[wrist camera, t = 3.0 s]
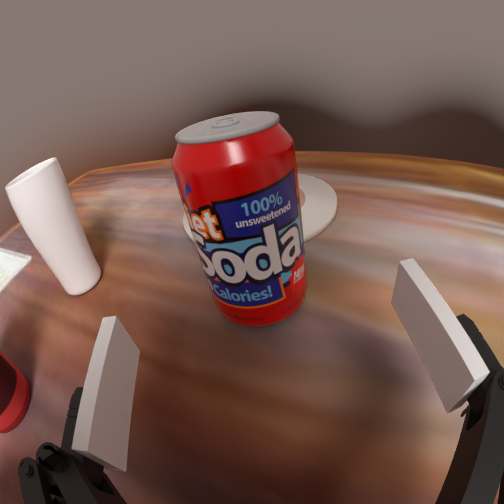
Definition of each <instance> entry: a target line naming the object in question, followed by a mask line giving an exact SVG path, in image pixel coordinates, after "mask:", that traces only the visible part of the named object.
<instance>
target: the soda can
mask: <svg viewBox="0 0 504 504" xmlns="http://www.w3.org/2000/svg"><path fill="white" fill-rule="evenodd" d="M278 121H279V116H278V115H277V114H276V113H273V112H262V111H260V112H245V113H237V114H231V115H225V116H220V117H216V118H213V119H209V120H206V121H202V122H199V123H196V124H194V125H191V126H189V127H187V128H185V129H183V130H181V131H179V132H178V133H177V134H176V136H175V138H176V141H177V142H178V144H177V148H176V151H175V154H174V157H173V159H172V169H173V173H174V177H175V180H176V184H177V187H178V190H179V194H180V197H181V200H182V204H183V207H184V210H185V213H186V216H187V220H188V223H189V226H190V229H191V232H192V235H193V238H194V242H195V245H196V248H197V251H198V254H199V257H200V260H201V263H202V266H203V269H204V272H205V275H206V278H207V281H208V283H209V286H210V289H211V292H212V295H213V298H214V300H215V303H216V305H217V307H218V309H219V311H220V312H221V314H222V315H223V316H224V317H226V318H227V319H229V320H230V321H232V322H234V323H237V324H240V325H244V326H253V327H257V326H266V325H271V324H274V323H277V322H280V321H282V320H284V319H286V318H287V317H289V316H290V315H292V314H293V313H294V312H295V311H296V310H297V309H298V308H299V307H300V306H301V304H302V303H303V301H304V299H305V296H306V291H307V278H306V263H305V249H304V237H303V225H302V214H301V203H300V193H299V184H298V174H297V165H296V157H295V149H294V142H293V139H292V137H291V136H290V135H289V134H288V133H287V132H286V131H285V129H284V128H283V127H282V126H281V125H280V124H279V122H278Z"/></svg>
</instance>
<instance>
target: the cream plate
mask: <svg viewBox="0 0 504 504" xmlns="http://www.w3.org/2000/svg"><path fill="white" fill-rule="evenodd" d="M297 174H298V184H299V193H300V203H301V214H302V225H303V237H304V242H306V241H308V240H310V239H312V238H314V237H315V236H317V235H318V234H320V233H321V232H323V231H324V230H325V229H326V228H327V227H328V226H329V225H330V224H331V223H332V221H333V220H334V218H335V216H336V213H337V196H336V193H335V191H334V190H333V188H332V187H331V186H330V185H328V184H327V183H326V182H324V181H322V180H320V179H318V178H316V177H313V176H309V175H305V174H301V173H297ZM183 225H184V228H185V232H186V234H187V236H188V238H189V239H190V240H191V241H192V242H193V243H194V244H195V242H194V238H193V235H192V232H191V229H190V226H189V223H188V220H187V216H186V213H184V216H183Z"/></svg>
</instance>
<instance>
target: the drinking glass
mask: <svg viewBox="0 0 504 504" xmlns="http://www.w3.org/2000/svg"><path fill="white" fill-rule="evenodd" d="M5 189H6V192H7V194H8V197H9V200H10V202H11V205H12V207H13V209H14V211H15V213H16V215H17V217H18V219H19V221H20V223H21V225H22V227H23V228H24V230H25V232H26V233H27V235H28V236H29V238H30V239H31V241H32V242H33V244H34V246H35V247H36V249H37V250H38V252H39V253H40V254H41V256H42V257H43V259H44V260H45V262H46V263H47V265H48V266H49V267H50V269H51V270H52V272H53V273H54V275H55V276H56V277H57V279H58V280H59V282H60V283H61V285H62V286H63V288H64V289H65V291H66V292H67V293H68V294H70V295H81V294H84V293H86V292H87V291H89V290H90V289H92V288H93V287H94V286H95V285H96V284H97V282H98V281H99V279H100V276H101V269H100V267H99V265H98V263H97V261H96V259H95V257H94V255H93V253H92V250H91V248H90V245H89V243H88V240H87V238H86V235H85V232H84V230H83V227H82V224H81V222H80V219H79V216H78V213H77V210H76V207H75V204H74V201H73V198H72V195H71V192H70V190H69V187H68V184H67V182H66V179H65V177H64V174H63V172H62V169H61V167H60V165H59V163H58V160H57V158H55V157H54V158H50V159H48V160H46V161H44V162H41V163H39V164H37V165H35V166H34V167H32V168H30V169H28V170H27V171H25V172H24V173H22V174H20V175H19V176H18V177H16V178H15V179H13V180H12V181H11V182H10V183H9V184H8V185H7V186H6V187H5Z"/></svg>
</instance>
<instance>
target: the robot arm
mask: <svg viewBox="0 0 504 504" xmlns="http://www.w3.org/2000/svg"><path fill="white" fill-rule="evenodd" d="M391 304H392V306H393V307H394V309H395V311H396V313H397V314H398V316H399V318H400V320H401V322H402V323H403V325H404V327H405V329H406V331H407V332H408V334H409V336H410V338H411V340H412V342H413V344H414V346H415V347H416V349H417V351H418V353H419V355H420V357H421V359H422V361H423V363H424V365H425V367H426V369H427V371H428V373H429V375H430V377H431V379H432V381H433V383H434V385H435V388H436V390H437V392H438V394H439V396H440V398H441V400H442V403H443V405H444V407H445V409H446V412H447V413H449V412H451V411H453V410H455V409H457V408H459V407H461V406H462V405H463V404H464V403H465V402H466V401H468V403H469V405H468V406H467V407H466V409H465V410H464V411H463V412H462V414H461V417H463V416H464V415H465V414H466V416H465V420H464V424H463V428H462V431H461V435H460V438H459V442H458V445H457V448H456V451H455V454H454V457H453V460H452V463H451V466H450V469H449V471H448V474H447V477H446V479H445V482H444V484H443V487H442V489H441V491H440V494H439V496H438V498H437V501H436V503H435V504H493V502H494V499H495V497H496V494H497V491H498V488H499V484H500V490H499V498H498V504H504V368H503V367H502V366H501V365H500V363H499V362H498V360H497V358H496V357H495V355H494V353H493V352H492V350H491V349H490V347H489V345H488V344H487V342H486V341H485V339H483V336H482V334H481V333H480V332H479V330H478V328H477V327H476V325H475V324H474V322H473V321H472V320H471V319H469V318H468V317H467V316H466V315H464V314H462V315H459V316H457V317H456V316H455V315H454V313H453V312H452V311H451V309H450V308H449V306H448V305H447V303H446V302H445V300H444V299H443V298H442V296H441V295H440V293H439V292H438V291H437V289H436V288H435V286H434V285H433V284H432V282H431V281H430V280H429V278H428V277H427V276H426V274H425V273H424V272H423V270H422V269H421V268H420V267H419V265H418V264H417V263H416V261H415V260H414V259H413V258H411V259H407V260H403V261H399V266H398V272H397V277H396V283H395V288H394V293H393V297H392V302H391ZM139 356H140V350H139V349H138V347H137V346H136V344H135V343H134V342H133V340H132V339H131V337H130V336H129V334H128V333H127V331H126V330H125V328H124V327H123V325H122V324H121V322H120V321H119V319H118V318H117V316H112V317H105V318H103V320H102V323H101V326H100V329H99V333H98V336H97V339H96V343H95V346H94V350H93V353H92V357H91V361H90V364H89V368H88V372H87V376H86V380H85V384H84V387H77V389H76V390H75V392H74V393H73V395H72V397H71V401H70V405H69V410H68V414H67V416H68V418H67V419H66V424H65V429H64V434H63V439H62V445H61V448H59V447H57V446H56V445H54V444H52V443H49V442H46V443H44V444H42V445H41V446H40V447H39V448H38V450H37V453H36V461H35V460H33V459H31V458H29V457H26V458H24V459H22V460H21V462H20V464H19V467H18V473H19V479H20V484H21V489H22V493H23V498H24V502H25V504H127V503H126V502H125V501H124V499H123V498H122V496H121V495H120V494H119V492H118V491H117V489H116V488H115V487H114V485H113V484H112V482H111V481H110V479H109V478H108V476H107V475H106V474H105V473H104V472H103V469H104V467H105V468H107V469H109V470H112V471H121V472H126V468H127V454H128V442H129V431H130V422H131V413H132V404H133V397H134V389H135V382H136V375H137V369H138V362H139ZM500 481H501V482H500ZM51 495H52V498H51Z"/></svg>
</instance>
